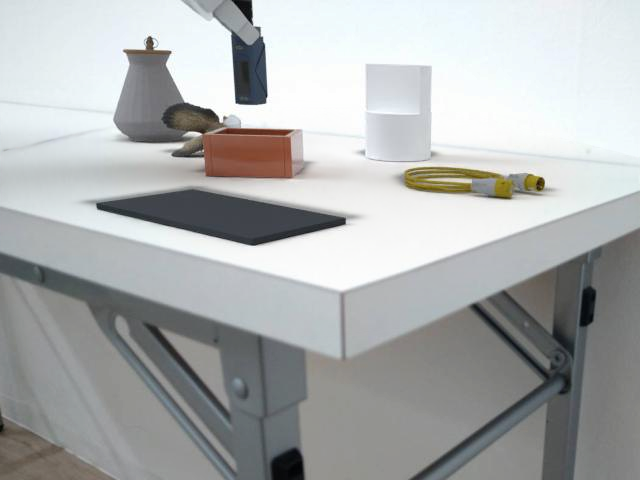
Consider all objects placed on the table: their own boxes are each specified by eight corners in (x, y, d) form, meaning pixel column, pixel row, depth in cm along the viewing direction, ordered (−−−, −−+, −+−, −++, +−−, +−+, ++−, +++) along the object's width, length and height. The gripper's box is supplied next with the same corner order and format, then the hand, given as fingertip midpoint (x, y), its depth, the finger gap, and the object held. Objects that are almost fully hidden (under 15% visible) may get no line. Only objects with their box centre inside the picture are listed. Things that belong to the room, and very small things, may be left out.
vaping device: (231, 104, 81) (223, -16, 77) (249, 102, 86) (243, -11, 82) (253, 105, 81) (246, -16, 77) (271, 103, 86) (265, -11, 81)
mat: (96, 208, 64) (95, 202, 64) (193, 194, 72) (192, 188, 72) (252, 245, 54) (252, 238, 54) (346, 223, 61) (346, 217, 61)
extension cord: (444, 203, 71) (445, 182, 70) (386, 178, 84) (386, 160, 84) (552, 196, 76) (553, 177, 75) (481, 174, 89) (482, 157, 88)
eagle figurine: (215, 139, 106) (153, 130, 99) (233, 97, 102) (170, 85, 95) (235, 174, 103) (173, 167, 96) (255, 132, 99) (191, 122, 92)
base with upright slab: (442, 156, 104) (444, 65, 100) (409, 163, 96) (410, 65, 92) (387, 151, 108) (387, 63, 104) (352, 157, 100) (350, 63, 96)
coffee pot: (195, 143, 110) (185, 34, 105) (111, 143, 107) (97, 31, 102) (195, 129, 129) (187, 37, 124) (124, 129, 126) (112, 34, 121)
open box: (205, 176, 82) (202, 134, 81) (224, 165, 90) (221, 127, 89) (292, 178, 83) (290, 136, 81) (303, 167, 91) (302, 129, 89)
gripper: (163, -110, 66) (281, 15, 72) (174, -74, 84) (267, 24, 90) (115, -57, 66) (236, 63, 72) (136, -33, 84) (231, 61, 90)
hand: (253, 41), depth 81 cm, fingers closed on vaping device, 5 cm apart
